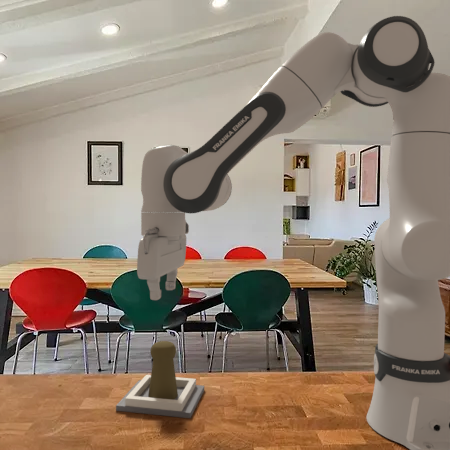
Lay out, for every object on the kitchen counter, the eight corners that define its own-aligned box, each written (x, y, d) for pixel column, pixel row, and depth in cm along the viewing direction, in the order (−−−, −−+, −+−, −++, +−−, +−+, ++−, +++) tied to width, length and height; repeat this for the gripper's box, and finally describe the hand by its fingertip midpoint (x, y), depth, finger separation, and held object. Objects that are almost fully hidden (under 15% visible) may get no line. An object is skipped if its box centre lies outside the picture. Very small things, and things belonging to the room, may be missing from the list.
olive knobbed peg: (172, 403, 80) (172, 349, 79) (143, 400, 81) (143, 346, 80) (181, 390, 85) (181, 339, 85) (154, 387, 87) (155, 337, 86)
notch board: (204, 390, 88) (204, 378, 88) (190, 418, 76) (190, 405, 76) (139, 384, 90) (139, 373, 90) (115, 410, 79) (115, 398, 78)
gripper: (161, 229, 71) (161, 307, 72) (190, 225, 91) (190, 285, 92) (128, 229, 72) (128, 305, 73) (164, 224, 92) (164, 284, 93)
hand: (163, 294), depth 82 cm, fingers open, 8 cm apart
